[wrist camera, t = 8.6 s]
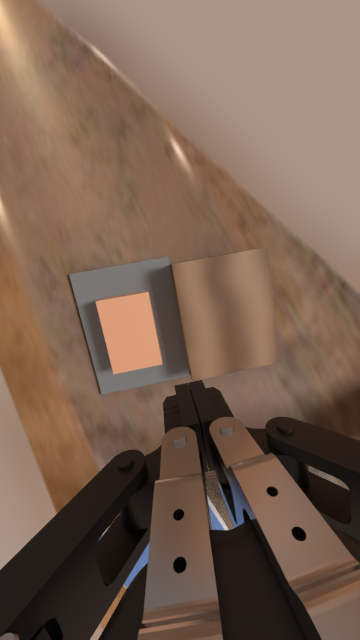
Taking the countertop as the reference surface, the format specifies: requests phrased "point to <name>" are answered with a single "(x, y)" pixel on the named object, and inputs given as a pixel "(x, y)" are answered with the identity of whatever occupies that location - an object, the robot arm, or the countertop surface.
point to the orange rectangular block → (129, 331)
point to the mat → (165, 315)
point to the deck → (226, 312)
